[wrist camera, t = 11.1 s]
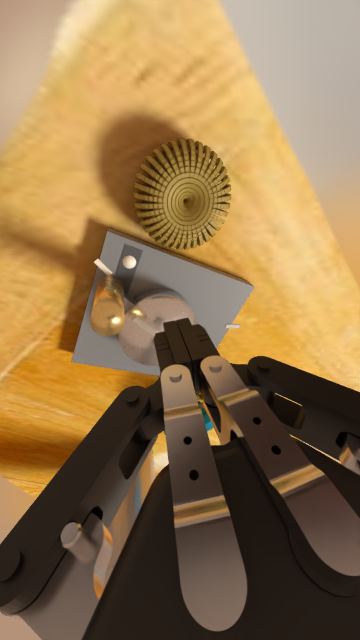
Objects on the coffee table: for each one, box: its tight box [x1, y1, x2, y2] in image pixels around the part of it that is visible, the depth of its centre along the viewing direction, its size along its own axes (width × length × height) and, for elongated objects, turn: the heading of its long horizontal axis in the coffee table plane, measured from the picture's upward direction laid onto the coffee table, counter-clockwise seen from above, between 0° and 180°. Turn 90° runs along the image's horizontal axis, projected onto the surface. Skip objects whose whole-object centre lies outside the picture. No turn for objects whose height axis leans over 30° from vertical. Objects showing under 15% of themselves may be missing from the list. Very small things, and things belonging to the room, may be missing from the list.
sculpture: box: [133, 139, 231, 250], centre depth 19 cm, size 8×4×8 cm
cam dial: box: [90, 276, 199, 366], centre depth 23 cm, size 16×8×6 cm, turn 43°
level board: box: [71, 228, 254, 376], centre depth 27 cm, size 15×18×2 cm
